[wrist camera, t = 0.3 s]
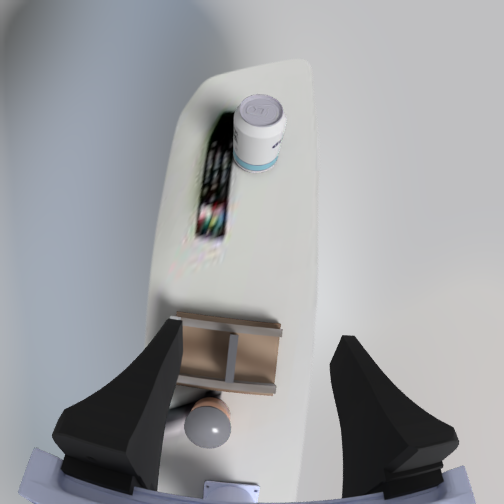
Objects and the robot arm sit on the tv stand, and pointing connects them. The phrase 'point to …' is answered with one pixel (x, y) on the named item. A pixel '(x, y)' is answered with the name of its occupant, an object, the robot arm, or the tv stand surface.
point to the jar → (208, 423)
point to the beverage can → (258, 132)
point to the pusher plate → (231, 358)
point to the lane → (216, 354)
